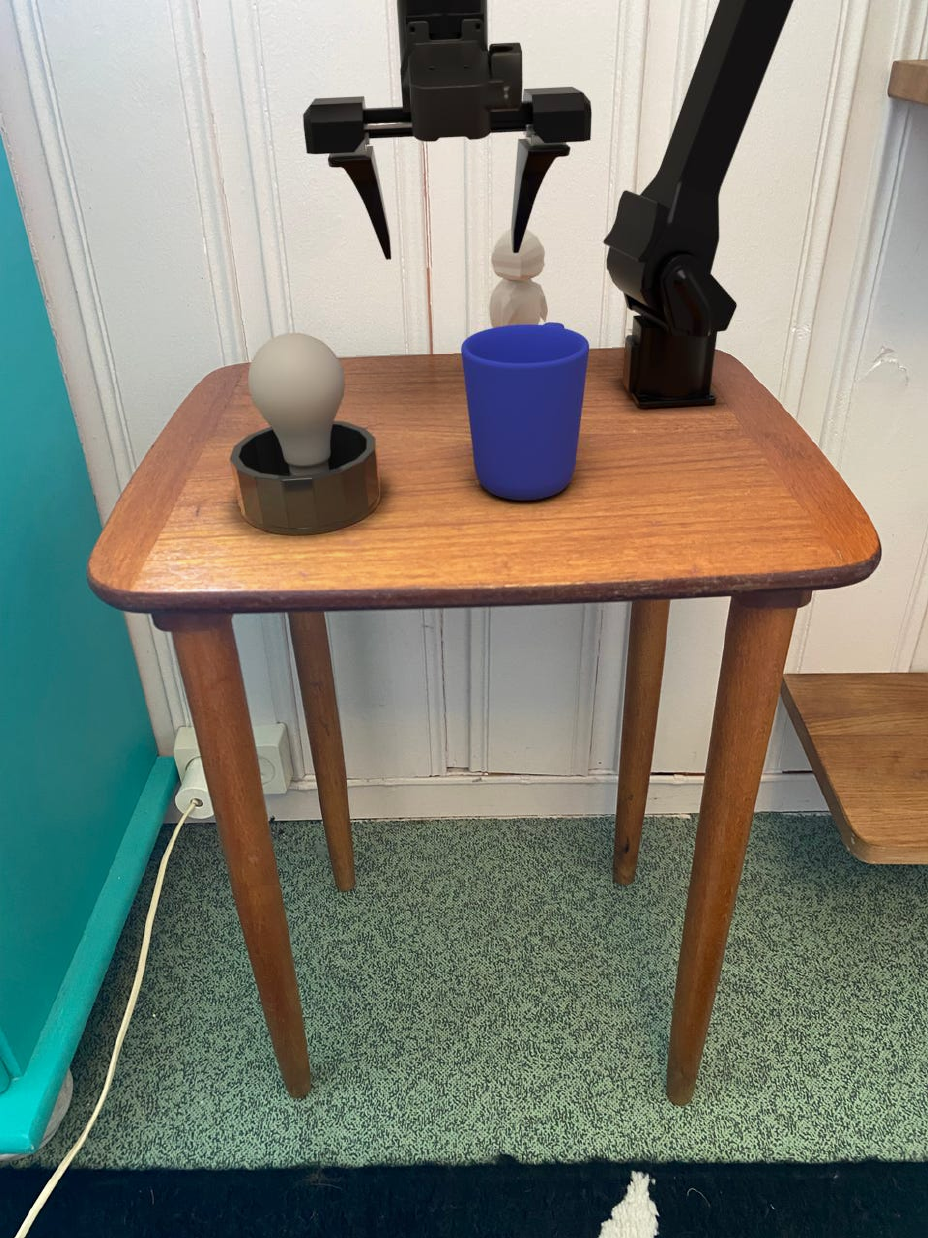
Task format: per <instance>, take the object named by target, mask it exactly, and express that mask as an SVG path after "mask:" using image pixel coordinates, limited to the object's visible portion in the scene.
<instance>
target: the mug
mask: <svg viewBox="0 0 928 1238" xmlns="http://www.w3.org/2000/svg"><path fill="white" fill-rule="evenodd" d="M460 348H461V349H460V352H461V361H462V369H463V378H464V386H465V396H466V405H467V413H468V421H469V429H470V439H471V447H472V456H473V464H474V465H473V466H474V471H475V474H476V477H477V479H478V482H479V483H480V485H481V486H482V487H483V489H485V491H487V492H489V493H490V494H492V495H494V496H497V497H500V498H502V499H507V500H512V501H513V500H514V501H535V500H540V499H546V498H549V497H552V496H554V495H556V494H559V493H560V492H561V491H563V490H564V489H565V488H566V487H567V486H568V485H569V484H570V482H571V481H572V478H573V476H574V473H575V469H576V462H577V454H578V445H579V437H580V428H581V420H582V413H583V412H582V411H583V405H584V397H585V388H586V387H585V386H586V379H587V370H588V363H589V353H590V343H589V341H588V339H587V338H586V336H584V335H582V334H581V333H579V332H577V331H574V330H572V329H569V328H565V325H564V324H563V323H561V322H551V321H548V322H544V323H543V324H538V325H531V324H526V325H509V326H501V327H495V328H493V327H492V328H491V327H490V328H486V329H484V330H481V331H478V332H476V333H473V334H471V335H470V336H468V337H467V338H466V339H464V340H463V342H462V344H461V347H460Z"/></svg>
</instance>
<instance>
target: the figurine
mask: <svg viewBox="0 0 928 1238" xmlns="http://www.w3.org/2000/svg"><path fill="white" fill-rule="evenodd" d="M545 254H546V251H545V247H544V245H543V244H542V242H541V241H540V239H539V237H538V236H537V235H535V234H534V233H533V232H531V231H530V230H528V229H527V228H526V231H525V234H524V237H523V240H522V244H521V247H520V250H519V252H518V253H513V251H512V238H511V228H510V229H508V230H506V231H505V232H504V233H503V234H501V236H500V237H499V238H498V240H497V241H496V243H495V244H494V246H493V251H492V253H491V258H490V259H491V265H492V269H493V272H494V273H495V275H496V277H499V278H502V279H501V280H500V281H499V282H498V283H497V285H496V286H495V288H494V289H492V292H491V295H490V299H489V305H488V314H489V315H488V316H489V320H490V324H491V327H492V328H495V327H501V326H509V325H526V324H531V325H540V322H541V319H542V321H543V322H544V323H547V317H548V314H549V313H548V312H549V309H548V303H547V298H546V295H545V292H544V290H543V287H542V285H541V284H540V283H538V282H535V281H533V279H534V278H535V277H538V276H540V274H541V273H542V272H543V270H544V267H545V265H546V263H545Z"/></svg>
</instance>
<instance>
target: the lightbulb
mask: <svg viewBox="0 0 928 1238" xmlns="http://www.w3.org/2000/svg"><path fill="white" fill-rule="evenodd" d="M343 369H344V368H343V366H342V364H341V362H340V360H339V358H338V356H337V355H336V353H334V351H333V350H332V349H331V347H329V346H328V345H327V344H326V343H325V342H324V341H322V340H320V339H318V338H316V337H315V336H312V335H309V334H306V333H301V332H288V333H282V334H278V335H276V336H274V337H272V338H271V339H268V340H267V341H266V342H265V343H263V345H261V346H260V347H259V348H258V349H257V351H256V353H255V354H254V356H253V358H252V360H251V362H250V364H249V369H248V375H247V386H248V387H247V388H248V391H249V396H250V397H251V400H252V403H253V404H254V407H255V408H256V409H257V410H258V412H259V413H260V415H261V417H262V418H263V419H264V420H265V421H266V423H267V424H268V425H269V427H270V426H271V427H272V429H273V430H274V432H275V434H276V436H277V437H278V439H279V442H280V445H281V447H282V451H283V456H284V459H285V461H286V462H287V463H288V464H289V470H290V473H291V476H296V475H311V474H315V473H320V472H324V471H328V470H329V466H328V459H329V457H330V454H331V451H330V436H331V429H332V425H333V421H335V419H336V416H337V415H338V412H339V410H340V407H341V404H342V401H343V399H344V396H345V388H346V381H345V372H344V370H343Z"/></svg>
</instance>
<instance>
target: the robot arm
mask: <svg viewBox="0 0 928 1238" xmlns="http://www.w3.org/2000/svg"><path fill="white" fill-rule="evenodd" d="M794 2H795V0H719V1H718V3H717V6H716V10H715V12H714V15H713V17H712V18H713V19H712V20H711V23H710V26H709V28H708V31H707V34H706V37H705V41H704V43H703V46H702V49H701V51H700V55H699V57H698V59H697V63H696V66H695V69H694V71H693V74H692V77H691V79H690V82H689V86H688V88H687V91H686V93H685V96H684V100H683V102H682V105H681V108H680V110H679V114H678V116H677V118H676V122H675V125H674V127H673V130H672V133H671V136H670V138H669V141H668V144H667V147H666V150H665V153H664V155H663V158H662V161H661V164H660V167H659V169H658V171H657V173H656V175H655V176H654V177H653V179H652V180H651V181H649V183H648V185H646V187H645V188H644V189H643V191H641V193H640V194H638V193H635V192H632V191H630V190H628V189H625V190H623V191H622V194H621V195H620V198H619V201H618V205H617V209H616V216H615V219H614V222H613V224H612V227H611V229H610V231H609V233H608V234H607V235H606V236H605V238H604V239H603V241H602V242H603V244H604V245H605V246H607V247H609V248H608V251H607V256H606V270H607V271H608V275H609V277H610V279H611V282H612V283H613V285H614V286H615V287H616V288H617V289H618V290H619V291H621V292H622V293H623V297H624V301H625V304H626V308H627V309H628V310H630V311H632V312H635V313H637V315H636V314H635V315H633V317H632V328H631V329H632V330H631V334H627V335H626V336H625V338H624V351H623V367H622V384H623V385H624V388H625V389H626V391H627V392H628V394H629V395H631V397H632V399H633V401H634V403H635V404H636V406H637V407H638V408H643V409H644V408H662V407H678V406H694V405H710V404H712V405H713V404H716V403H717V395H716V394H715V392H714V391H713V389H711V388H712V380H713V373H714V365H715V355H716V346H717V341H718V340H717V339H718V332H719V333H720V332H725V331H727V330H728V328H729V327H730V323H731V321H732V319H733V317H734V315H735V312H736V309H737V308H738V307H737V306H738V305H737V302H736V300H735V299H734V298H733V297H732V296H731V295H730V294H729V292H727V291H726V289H725V288H724V287H723V286H722V284H720V282H719V281H718V280H717V279H716V278H715V276H714V275H713V274H712V270H713V267H714V263H715V258H716V254H717V252H718V251H717V250H718V246H719V242H720V194H721V191H722V186H723V183H724V182H725V179H726V176H727V174H728V171H729V168H730V165H731V163H732V161H733V158H734V156H735V153H736V150H737V148H738V146H739V142H740V140H741V137H742V135H743V132H744V130H745V127H746V124H747V122H748V119H749V117H750V114H751V112H752V109H753V106H754V104H755V102H756V99H757V96H758V93H759V91H760V89H761V86H762V83H763V80H764V79H765V75H766V73H767V70H768V68H769V66H770V63H771V61H772V59H773V55H774V52H775V50H776V47H777V44H778V42H779V39H780V37H781V34H782V32H783V29H784V26H785V24H786V22H787V19H788V16H789V14H790V11H791V9H792V7H793V4H794ZM396 13H397V15H396V16H397V28H398V29H397V30H398V46H399V61H400V63H399V64H400V68H399V73H400V74H399V75H400V87H401V90H400V91H401V103H402V104H401V105H402V106H389V107H387V106H386V107H369V108H367V107H366V100H365V96H364V95H358V96H340V97H338V96H337V97H320V98H319V97H318V98H314V99H313V100H312V102H311V103H310V104H309V106H308V107H307V108H306V110H305V111H304V113H303V114H302V120H303V121H302V122H303V123H302V124H303V125H302V126H303V133H304V140H305V141H304V143H305V150H306V154H307V155H328V157H327V163H328V167H330V168H335V169H338V168H339V169H343V170H344V171H345V173H346V174H347V176H348V177H349V179H350V181H351V182H352V183H353V185H354V188H355V189H356V190H357V193H358V195H359V196H360V199H361V200H362V203H363V205H364V207H365V209H366V213H367V214H368V217H369V219H370V222H371V224H372V225H371V226H372V227H373V230H374V232H375V235H376V237H377V241H378V243H379V245H380V248H381V251H382V253H383V256H384V258H385V260H387V261H391V260H392V246H391V234H390V228H389V222H388V218H387V212H386V206H385V200H384V195H383V191H382V185H381V180H380V175H379V169H378V165H377V159H376V154H375V149H374V145H370V144H371V140H372V139H374V140H375V139H394V138H412V137H413V138H415V139H416V140H417V141H420V142H425V143H428V142H429V143H433V142H438V141H439V140H440V139H447V138H466V139H468V140H469V141H473V140H483V139H485V138H487V137H488V136H489V135H490V134H498V133H501V134H502V133H519V132H521V133H522V134H523V136H524V138H518V139H517V149H516V162H515V174H514V187H513V198H512V199H513V200H512V210H511V225H510V229H511V238H512V251H513V253H518V252H519V250H520V247H521V244H522V240H523V237H524V234H525V231H526V229H527V227H528V223H529V222H530V221H529V220H530V217H531V214H532V210H533V207H534V205H535V201H536V198H537V195H538V193H539V190H540V189H541V186H542V184H543V182H544V179H545V177H546V175H547V173H548V171H549V170H550V168H551V166H552V165H553V164H554V162H555V160H556V159H557V158H565V157H568V156H570V153H571V147H570V145H568V144H567V143H581V142H583V143H584V142H588V141H592V138H591V137H592V116H593V115H592V103H591V100H590V99H589V98H588V96H586V94H585V93H584V92H583V91H581V90H579V89H578V88H575V87H574V86H559V87H558V86H557V87H537V88H536V87H535V88H533V87H532V88H523V84H524V83H523V80H524V79H523V50H522V46H521V43H520V42H500V43H499V42H497V43H490V44H489V26H488V25H489V23H488V19H489V18H488V0H396Z"/></svg>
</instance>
